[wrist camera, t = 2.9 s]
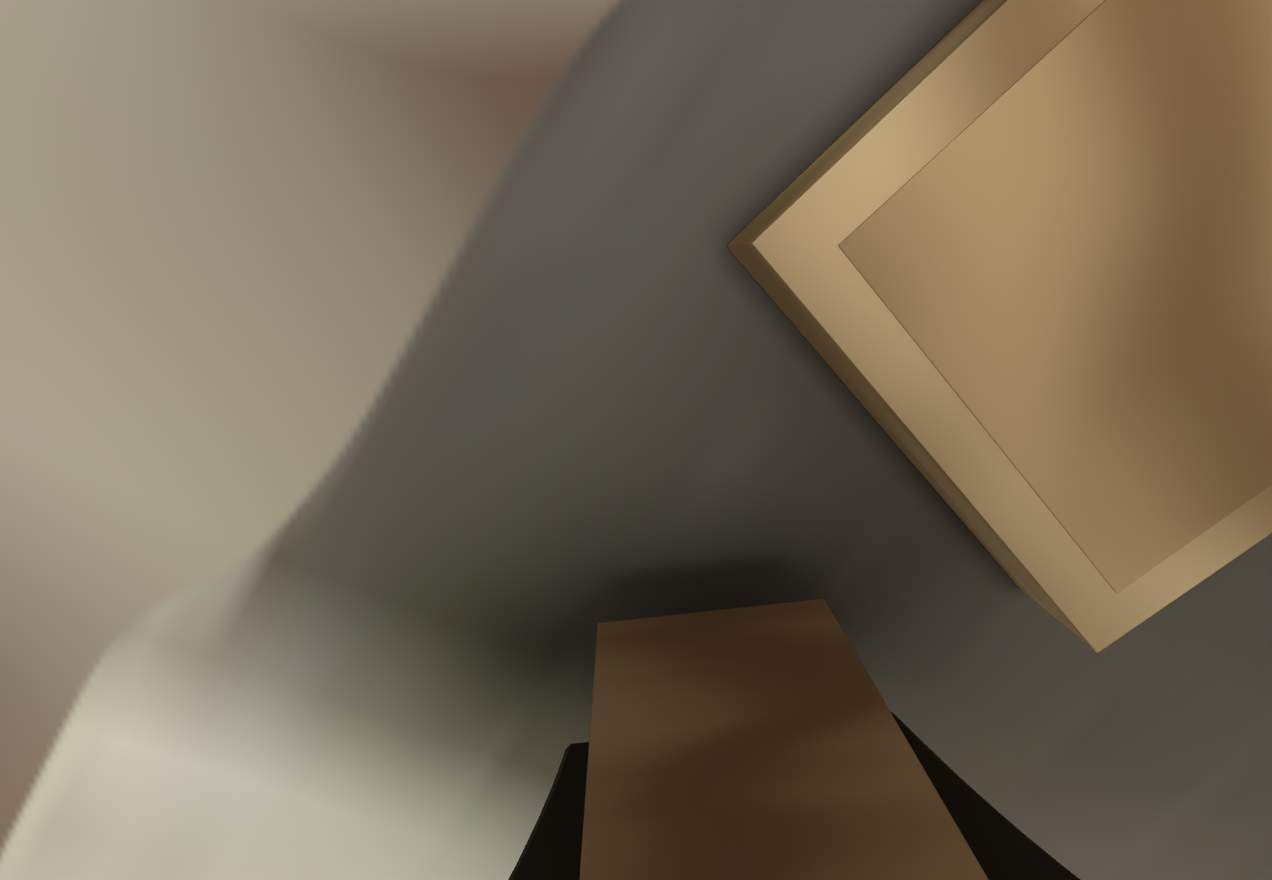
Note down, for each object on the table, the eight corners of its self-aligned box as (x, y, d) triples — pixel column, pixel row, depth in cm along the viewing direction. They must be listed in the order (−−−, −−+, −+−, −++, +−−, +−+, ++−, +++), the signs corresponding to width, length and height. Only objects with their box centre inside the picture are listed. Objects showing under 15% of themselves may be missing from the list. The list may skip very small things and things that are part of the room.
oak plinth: (1215, -224, 10) (1404, -377, 8) (1458, 266, 13) (1659, 268, 10) (726, 246, 12) (752, 243, 10) (1019, 588, 15) (1099, 654, 12)
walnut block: (823, 598, 12) (1013, 921, 6) (827, 777, 13) (986, 1180, 7) (597, 622, 12) (573, 963, 6) (624, 798, 13) (623, 1214, 7)
